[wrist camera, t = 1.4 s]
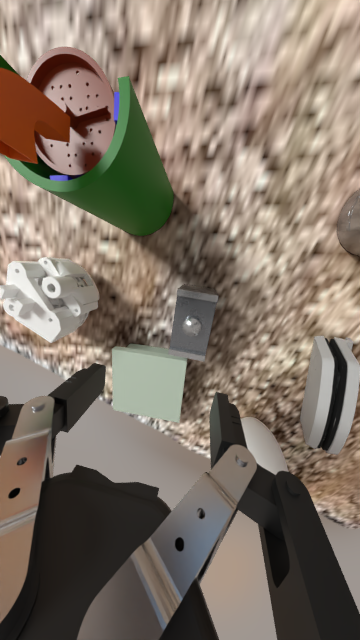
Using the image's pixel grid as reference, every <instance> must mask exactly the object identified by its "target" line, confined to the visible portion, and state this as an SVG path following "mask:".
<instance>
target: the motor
mask: <svg viewBox="0 0 360 640" xmlns="http://www.w3.org/2000/svg"><path fill="white" fill-rule="evenodd" d="M78 72H79V74H78V75H77V73H78ZM118 82H119V92H113V90H112V88H111V86H110V84H109V82H108V80H107V78H106V76H105V74H104V72H103V71H102V69H101V68H100V67H99V65H98V64H97V63H96V62H95V61H94V60H93V59H92V58H91V57H90V56H89V55H87V54H86V53H84V52H83V51H81V50H78V49H76V48H72V47H58V48H54V49H52V50H50V51H48V52H46V53H45V54H43V55H42V56H41V57H40V58H39V59H38V60H37V61H36V63H35V64H34V65H33V67H32V69H31V71H30V73H29V75H28V77H27V80H25V79H24V78H22V77H20V75H19V74H18V73H17V72H16V71H15V70H14V69H13V68H12V67H11V66H10V65H9V64H8V63H7V62H6V61H5V60H4V58H3V57H2V56H1V55H0V153H1V154H3V155H4V156H5V158H6V159H7V160H8V162H9V163H10V164H11V165H12V166H13V167H14V169H15V170H16V171H17V172H19V173H20V174H21V175H22V176H23V177H24V178H26V179H27V180H28V181H30V182H32V183H33V184H35V185H37V186H39V187H41V188H43V189H45V190H47V191H49V192H50V193H52V194H54V195H56V196H58V197H60V198H62V199H64V200H66V201H68V202H70V203H72V204H74V205H76V206H78V207H79V208H81V209H83V210H85V211H87V212H89V213H91V214H93V215H95V216H97V217H99V218H101V219H103V220H105V221H107V222H108V223H110V224H112V225H114V226H116V227H118V228H120V229H122V230H124V231H126V232H128V233H130V234H133V235H138V236H144V235H149V234H152V233H154V232H156V231H157V230H159V229H160V228H161V227H162V226H163V225H164V224H165V222H166V221H167V219H168V218H169V216H170V213H171V210H172V207H173V199H174V194H173V190H172V187H171V185H170V182H169V180H168V177H167V174H166V172H165V169H164V167H163V164H162V161H161V159H160V156H159V154H158V151H157V148H156V146H155V143H154V141H153V138H152V135H151V133H150V130H149V128H148V125H147V123H146V120H145V117H144V115H143V112H142V110H141V107H140V104H139V102H138V99H137V97H136V94H135V91H134V89H133V86H132V84H131V81H130V78H129V76H127V77H121V78H118ZM53 88H54V89H53Z"/></svg>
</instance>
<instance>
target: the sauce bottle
mask: <svg viewBox="0 0 360 640" xmlns="http://www.w3.org/2000/svg"><path fill="white" fill-rule="evenodd" d="M240 420H241V423H242V427H243V431H244V435H245V440H246V444H247V448H248V450H249V451H250V452H251V453H252V455H253V456H254V458H255V460H256V462H257V463H258V464H259V465H260V466H261V467H263V468H265V469H266V470H268V471H270V472H271V473H273V474H275V475H276V474H277V473H278V472H279V471H287V472H288V468H287V464H286V461H285V458H284V455H283V452H282V450H281V448H280V445H279V444H278V442H277V440H276V438H275V437H274V435H273V434H272V432H271V431H270V430H269V429H268V428H267V426H266V425H265V424H263V423H262V422H261V421H260V420H258V419H256V418H254V417H244V418H242V419H240Z"/></svg>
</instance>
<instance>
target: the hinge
mask: <svg viewBox="0 0 360 640" xmlns="http://www.w3.org/2000/svg"><path fill="white" fill-rule="evenodd" d="M352 346H353V341H352V340H351V339H350V338H347V337H346V339H341V338H337V337H334V339H331V340H330V344H329V342H328V340H327V339H326V338H324V336H316V337H314V341H313V347H312V353H311V358H310V364H309V370H308V376H307V381H306V387H305V393H304V398H303V404H302V410H301V415H300V421H301V425H302V430H303V434H304V439H305V443H306V444H307V445H309V446H311V447H312V448H314V449H316V448H320V447H322V449H323V450H325V451H326V453H330V454H336V455H338V454H339V452H340V451H341V449H342V448H343V446H344V444H345V442H346V439H347V437H348V434H349V432H350V429H351V425H352V421H353V417H354V413H355V408H356V403H357V397H358V389H359V379H360V365H359V363H358V361H357V360H356V358H355V356H354V355H353V353H352V352H351V350H352Z"/></svg>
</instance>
